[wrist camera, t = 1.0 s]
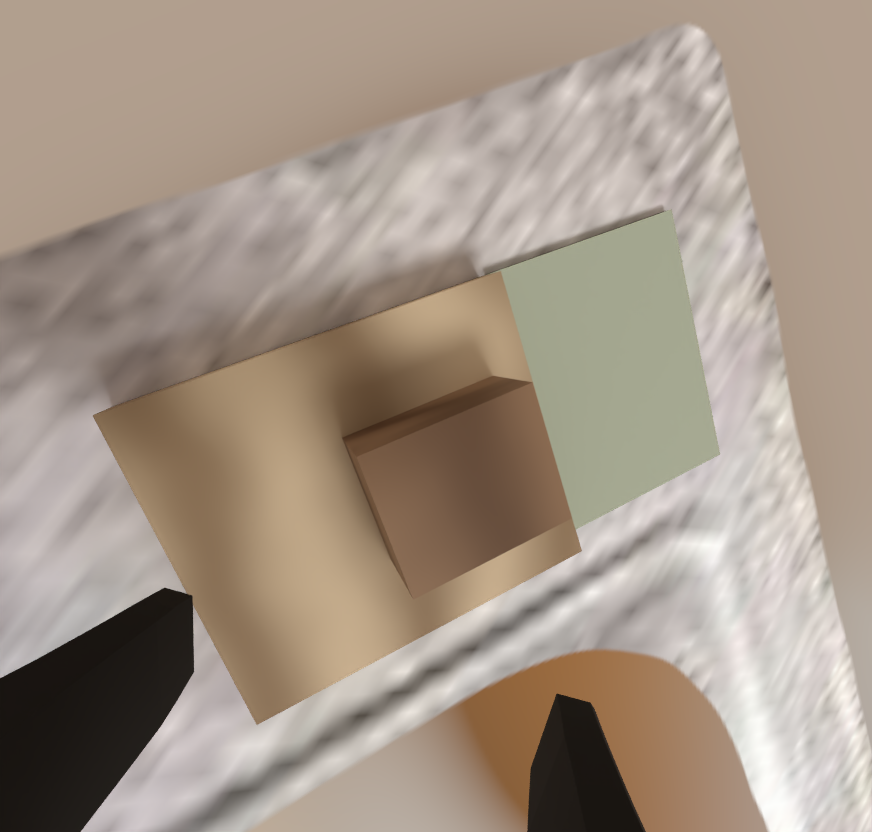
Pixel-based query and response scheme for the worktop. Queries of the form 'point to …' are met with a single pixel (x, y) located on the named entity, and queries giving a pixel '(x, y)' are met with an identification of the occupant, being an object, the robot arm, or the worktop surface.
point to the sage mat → (614, 363)
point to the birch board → (313, 490)
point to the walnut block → (459, 480)
